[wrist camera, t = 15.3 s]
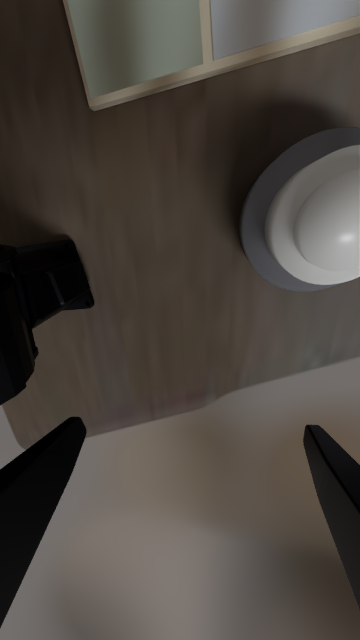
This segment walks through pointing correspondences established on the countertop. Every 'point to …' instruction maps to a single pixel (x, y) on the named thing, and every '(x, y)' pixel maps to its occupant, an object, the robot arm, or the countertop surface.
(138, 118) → the countertop surface
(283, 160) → the red and grey pieces
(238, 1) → the board
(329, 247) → the whipped cream
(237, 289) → the countertop surface
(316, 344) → the countertop surface
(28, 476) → the robot arm
